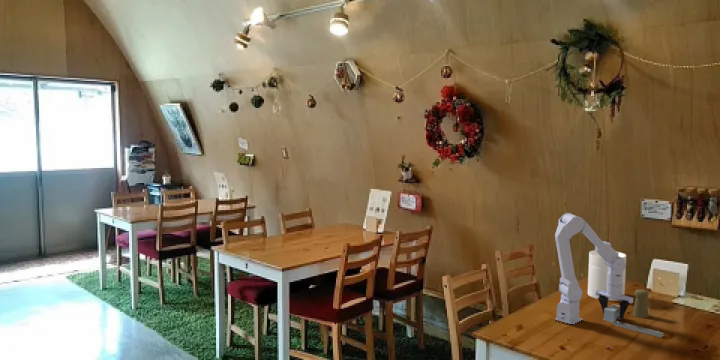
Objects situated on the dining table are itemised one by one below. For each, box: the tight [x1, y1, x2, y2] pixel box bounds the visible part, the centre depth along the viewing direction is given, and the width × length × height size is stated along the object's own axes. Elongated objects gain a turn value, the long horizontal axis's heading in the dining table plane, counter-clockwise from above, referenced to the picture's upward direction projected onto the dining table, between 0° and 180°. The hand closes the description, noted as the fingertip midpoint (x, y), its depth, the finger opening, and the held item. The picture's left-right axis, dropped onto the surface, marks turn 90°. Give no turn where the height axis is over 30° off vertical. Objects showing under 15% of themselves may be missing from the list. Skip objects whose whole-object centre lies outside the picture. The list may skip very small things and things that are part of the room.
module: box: [603, 303, 621, 324], centre depth 231 cm, size 9×4×5 cm, turn 133°
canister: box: [587, 250, 627, 302], centre depth 262 cm, size 16×16×20 cm
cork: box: [632, 288, 650, 319], centre depth 235 cm, size 6×6×11 cm
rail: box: [612, 320, 664, 338], centre depth 218 cm, size 2×18×2 cm, turn 43°
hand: (613, 315), depth 231 cm, fingers open, 6 cm apart
